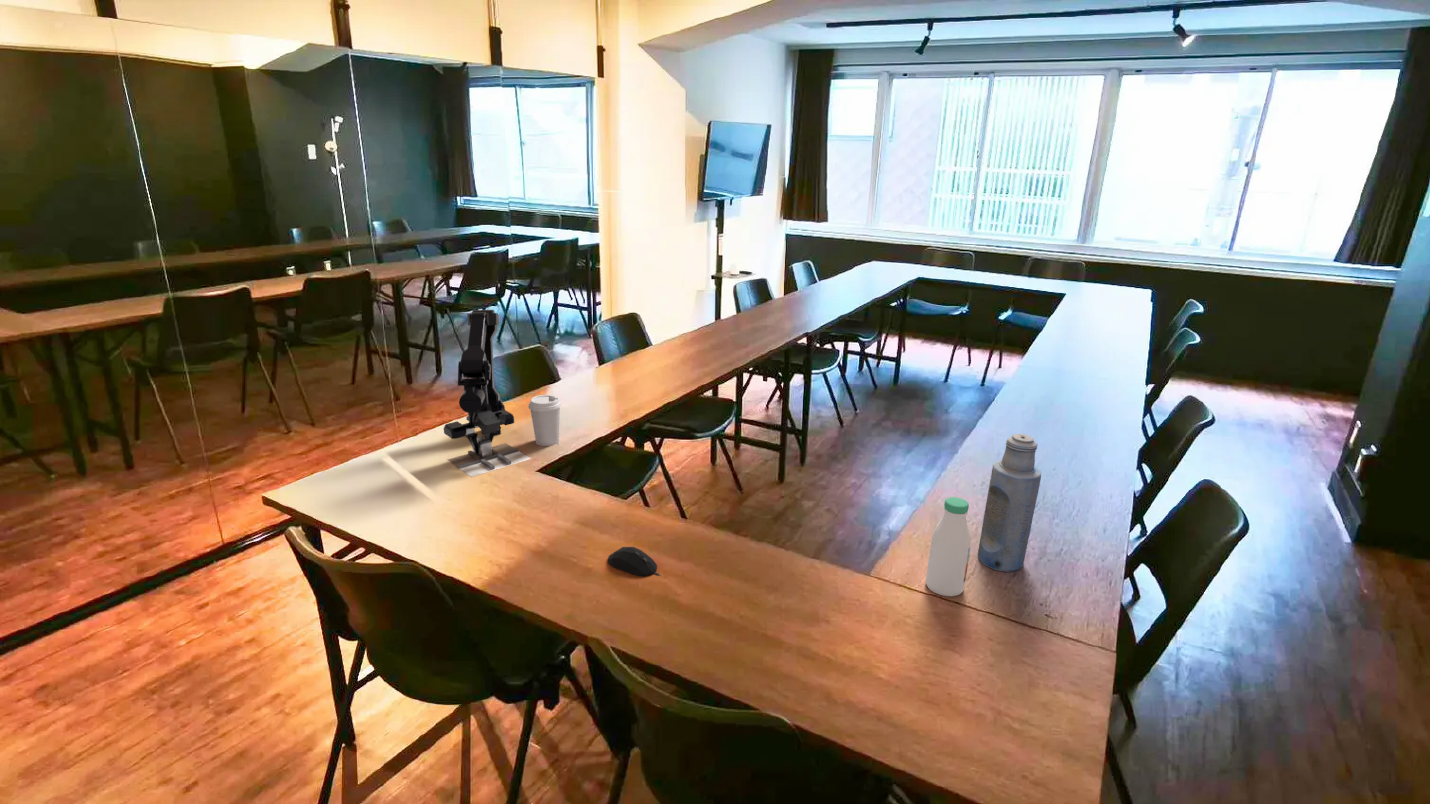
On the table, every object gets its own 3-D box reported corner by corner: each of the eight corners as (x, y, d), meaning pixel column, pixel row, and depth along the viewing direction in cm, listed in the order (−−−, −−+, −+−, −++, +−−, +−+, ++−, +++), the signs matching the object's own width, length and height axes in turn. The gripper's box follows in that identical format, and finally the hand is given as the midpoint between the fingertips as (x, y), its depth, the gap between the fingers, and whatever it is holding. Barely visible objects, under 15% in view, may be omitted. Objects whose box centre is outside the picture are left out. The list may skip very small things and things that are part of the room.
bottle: (967, 554, 161) (987, 431, 151) (1001, 545, 165) (1022, 425, 155) (999, 576, 153) (1021, 448, 143) (1033, 567, 157) (1057, 441, 147)
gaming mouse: (656, 586, 148) (656, 570, 147) (602, 564, 156) (601, 548, 154) (674, 572, 153) (674, 556, 152) (620, 551, 161) (620, 536, 159)
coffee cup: (556, 453, 210) (553, 405, 205) (525, 450, 211) (522, 403, 206) (568, 441, 219) (566, 395, 213) (539, 438, 220) (536, 392, 215)
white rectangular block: (473, 453, 206) (471, 436, 204) (482, 450, 207) (481, 434, 206) (482, 459, 201) (481, 442, 200) (492, 456, 203) (491, 440, 202)
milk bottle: (958, 602, 144) (972, 514, 138) (920, 589, 148) (932, 504, 141) (967, 583, 150) (981, 499, 144) (931, 572, 154) (942, 489, 147)
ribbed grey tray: (447, 464, 201) (446, 456, 201) (506, 447, 213) (505, 439, 212) (472, 482, 191) (471, 473, 190) (531, 463, 203) (531, 455, 202)
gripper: (458, 416, 187) (464, 469, 193) (522, 400, 199) (526, 451, 205) (439, 405, 195) (446, 457, 200) (502, 390, 207) (507, 440, 212)
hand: (482, 451), depth 204 cm, fingers closed on white rectangular block, 3 cm apart
